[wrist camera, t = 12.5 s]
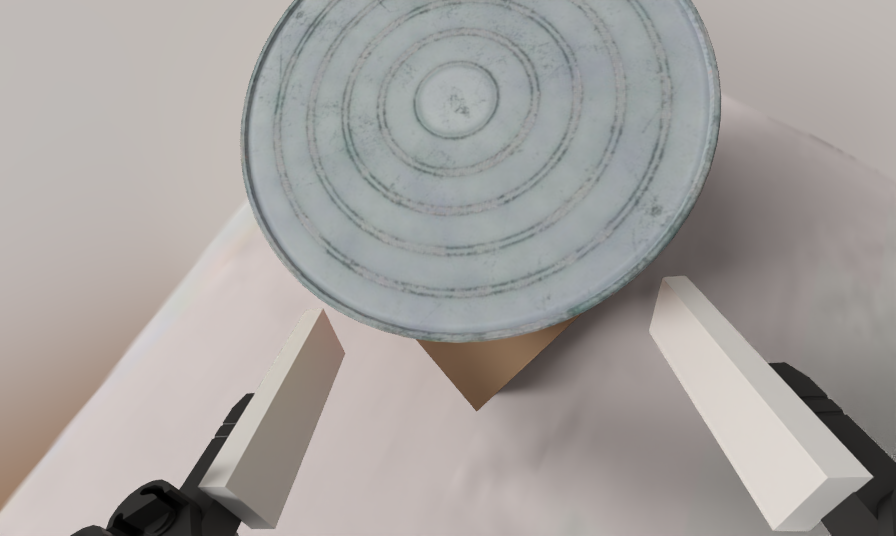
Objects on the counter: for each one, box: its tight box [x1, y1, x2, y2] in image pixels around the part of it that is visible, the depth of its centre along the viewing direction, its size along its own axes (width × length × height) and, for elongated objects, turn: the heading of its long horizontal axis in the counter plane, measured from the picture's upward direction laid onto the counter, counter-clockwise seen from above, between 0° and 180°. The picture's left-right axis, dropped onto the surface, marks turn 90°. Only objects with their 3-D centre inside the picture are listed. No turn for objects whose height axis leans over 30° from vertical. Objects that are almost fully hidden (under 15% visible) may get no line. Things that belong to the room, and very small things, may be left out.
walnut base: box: [416, 312, 583, 411], centre depth 21 cm, size 14×14×4 cm
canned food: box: [240, 0, 721, 343], centre depth 14 cm, size 11×11×12 cm
